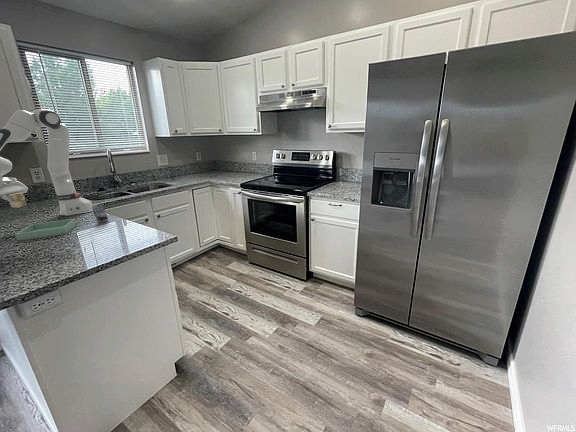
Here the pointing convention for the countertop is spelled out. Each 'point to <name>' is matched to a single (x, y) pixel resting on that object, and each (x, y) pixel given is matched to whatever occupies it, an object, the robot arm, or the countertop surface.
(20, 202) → the maple block
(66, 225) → the tray
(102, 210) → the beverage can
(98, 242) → the countertop surface
